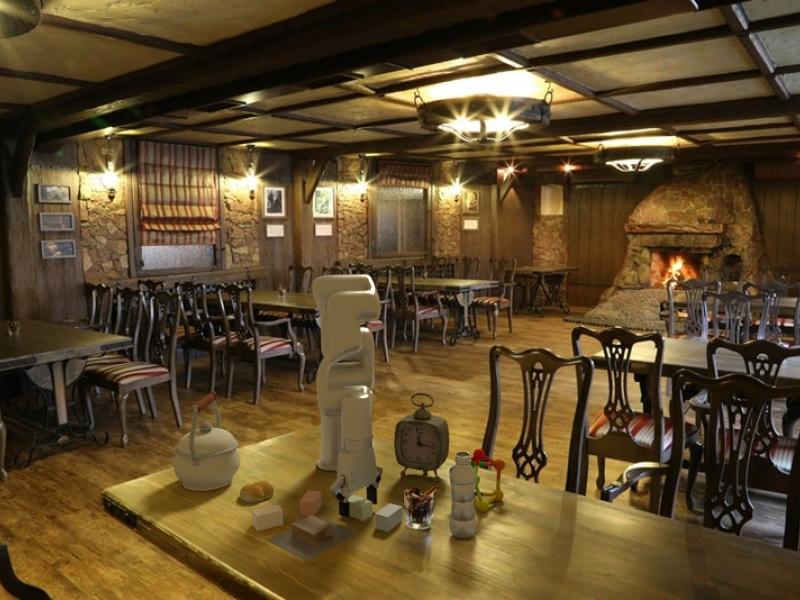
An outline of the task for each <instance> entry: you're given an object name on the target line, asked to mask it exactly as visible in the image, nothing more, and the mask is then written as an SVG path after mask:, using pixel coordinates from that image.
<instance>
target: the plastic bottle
mask: <svg viewBox="0 0 800 600" xmlns="http://www.w3.org/2000/svg"><path fill="white" fill-rule="evenodd" d="M454 458H455V459H454V463H455V464H454V465H453V466H454V467H453V466H452V467H453V468H452V470H451V472H450V474H449V475H448V476H449V483H450V484H449V485H450V491H451V508H450V509H451V511H450V518H449V523H448V524H449V526H448V527H449V531H450V533H451V534H452V536H453V537H455V538H457V539H464V540H465V539H470V538H472V537H473V536H474V535H475V533H476V530H477V526H478V525H477V518H476V514H475V501H474V493H475V492H476V491H475V485H476V473H475V471H474V469H473V467H472V466H471V465H470V463H471V458H472V455H471V453H470V452H469V451H457V452H456V453H455V457H454Z"/></svg>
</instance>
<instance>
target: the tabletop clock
mask: <svg viewBox="0 0 800 600" xmlns="http://www.w3.org/2000/svg"><path fill="white" fill-rule="evenodd" d="M416 396H425V397H427V398H428V399H431V403H430V404H427V405H426V404H425V402H423V401H422V402H420V404H418V403H416V402H415V401H414V398H415V397H416ZM410 401H411V403H412V405H413V406H415V407H418V408H417V409H416V410H415V411H414V413H411V414H407V415H406V416H404V417H403V418H401V419H400V420H399V421H398V422H397V423H396V425H395V428H394V440H393V443H394V455H395V456H394V457H395V460H396V462H397V464H398V465H399V466H401V467H403V468H404V469H403V470H402V471H400V472H399V474H400V476H401V477H406V471H407V470H408V469H411V470H416V471H422V473H424V474H428V472H433V473H434V481H435V482H436V483H437V482H440V481H441V477H440V476H439V475H438V472H437V471H438V470H439V469H440V467H442V466H443V464H444V463H445V462H446V461H447V459H448V457H449V452H450V443H451V442H450V441H451V440H450V430H449V424H448V422H447V420H446V419H445V418H443V417H441V416H438V415H432V413H431V411H430V410H429V409H428V408H431V407H432V406H433V405H434V404H435V403H434V402H435V401H434V398H433V396H431V395H430V394H428V393H424V392H418V393H417V392H416V393H414V394H413V395H412V396H411V398H410Z"/></svg>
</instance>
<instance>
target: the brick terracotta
mask: <svg viewBox="0 0 800 600" xmlns="http://www.w3.org/2000/svg"><path fill="white" fill-rule="evenodd" d="M322 494H323V493H322V491H320V490H319V491H317V490H307V492H306V493H305V494H304V495H303V496H302V498H301V499H300V500H299V516H301V517H302V516H306V517H308V516H310V515H312V516H314V517H315V516H316V514H317V513H318V511H319V510H320V508H321V507H322V506H323V502H322V500H323V499H322Z"/></svg>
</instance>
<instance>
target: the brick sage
mask: <svg viewBox="0 0 800 600" xmlns="http://www.w3.org/2000/svg"><path fill="white" fill-rule="evenodd" d="M348 502H349V503H350V517H352V518H354V519H357V520H359V521H362V522H363V521H365V520H367V519H369V518H372V517H373V504H372V501H369V500H367V498H364V497H361V496H358V495H356V494H352V495H350V496H349V499H348Z"/></svg>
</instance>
